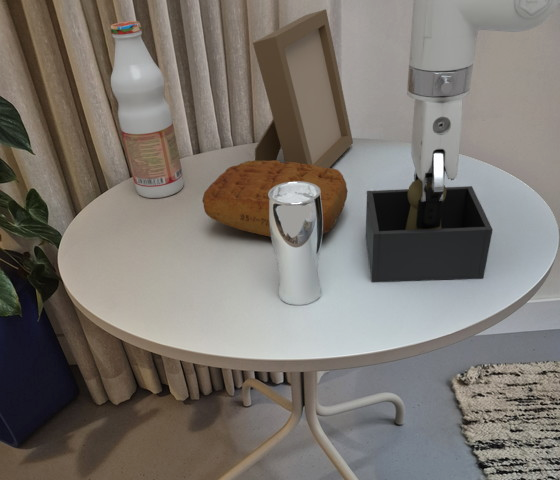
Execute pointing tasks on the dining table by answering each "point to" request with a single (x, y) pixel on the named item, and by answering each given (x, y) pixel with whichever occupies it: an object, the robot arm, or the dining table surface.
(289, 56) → the photo frame
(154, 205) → the dining table surface
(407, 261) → the basket
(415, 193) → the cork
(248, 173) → the clay tablet
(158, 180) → the fruit juice
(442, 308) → the dining table surface
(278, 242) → the beer glass
